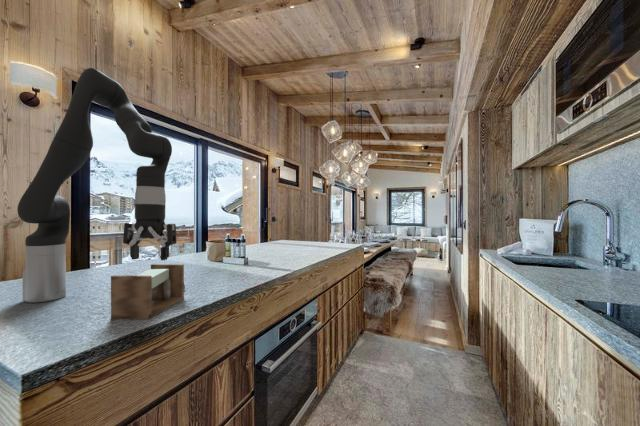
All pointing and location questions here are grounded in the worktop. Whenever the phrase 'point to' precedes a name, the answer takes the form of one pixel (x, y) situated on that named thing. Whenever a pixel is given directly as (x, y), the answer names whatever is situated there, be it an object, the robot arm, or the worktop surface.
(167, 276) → the shelf board
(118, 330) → the worktop surface
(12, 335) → the worktop surface
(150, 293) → the peg cradle
